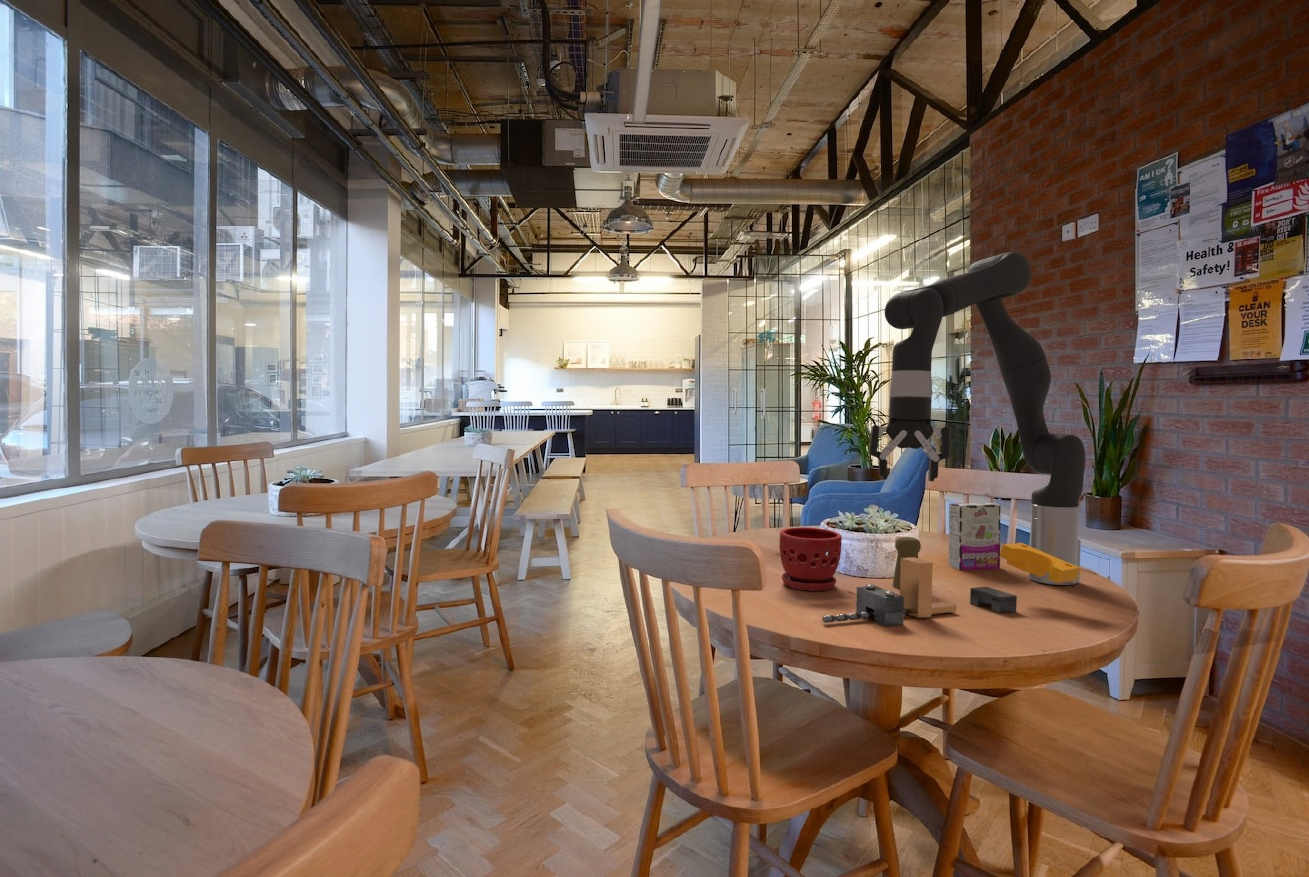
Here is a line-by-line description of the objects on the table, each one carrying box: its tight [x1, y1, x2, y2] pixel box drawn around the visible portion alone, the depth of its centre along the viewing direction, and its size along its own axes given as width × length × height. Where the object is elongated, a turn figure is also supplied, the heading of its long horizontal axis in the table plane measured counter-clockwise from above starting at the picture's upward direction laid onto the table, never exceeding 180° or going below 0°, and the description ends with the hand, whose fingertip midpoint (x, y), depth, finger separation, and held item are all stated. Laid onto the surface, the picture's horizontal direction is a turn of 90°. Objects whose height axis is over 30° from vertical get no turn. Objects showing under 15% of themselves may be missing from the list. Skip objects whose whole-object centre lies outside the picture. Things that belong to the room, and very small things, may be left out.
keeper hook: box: [969, 586, 1018, 614], centre depth 133 cm, size 4×7×3 cm, turn 19°
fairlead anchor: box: [855, 583, 905, 627], centre depth 124 cm, size 4×8×6 cm, turn 19°
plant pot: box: [779, 526, 842, 592], centre depth 148 cm, size 13×13×12 cm
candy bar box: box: [948, 502, 1001, 571], centre depth 167 cm, size 11×5×16 cm, turn 102°
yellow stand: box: [1000, 542, 1081, 583], centre depth 135 cm, size 12×4×6 cm
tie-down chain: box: [821, 557, 957, 624], centre depth 125 cm, size 28×5×10 cm, turn 109°
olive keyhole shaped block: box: [892, 536, 922, 590], centre depth 148 cm, size 6×6×11 cm
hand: (907, 480), depth 131 cm, fingers open, 8 cm apart
